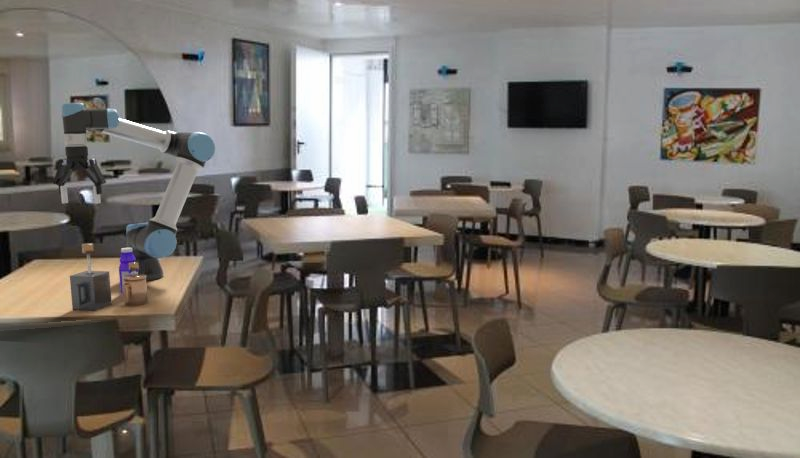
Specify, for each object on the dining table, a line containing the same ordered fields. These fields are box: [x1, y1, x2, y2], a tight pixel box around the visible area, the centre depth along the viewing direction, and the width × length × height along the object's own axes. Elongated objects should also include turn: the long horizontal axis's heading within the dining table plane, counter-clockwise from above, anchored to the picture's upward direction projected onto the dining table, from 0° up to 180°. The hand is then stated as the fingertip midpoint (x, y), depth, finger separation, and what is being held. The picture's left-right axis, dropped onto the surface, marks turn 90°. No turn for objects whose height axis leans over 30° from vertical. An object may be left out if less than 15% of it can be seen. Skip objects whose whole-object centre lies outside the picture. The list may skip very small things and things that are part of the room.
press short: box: [122, 262, 148, 307], centre depth 250 cm, size 11×8×15 cm
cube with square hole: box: [69, 270, 113, 312], centre depth 244 cm, size 12×9×12 cm
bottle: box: [118, 247, 138, 295], centre depth 266 cm, size 7×6×17 cm
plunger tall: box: [81, 242, 94, 274], centre depth 245 cm, size 7×7×19 cm
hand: (81, 203), depth 262 cm, fingers open, 13 cm apart
